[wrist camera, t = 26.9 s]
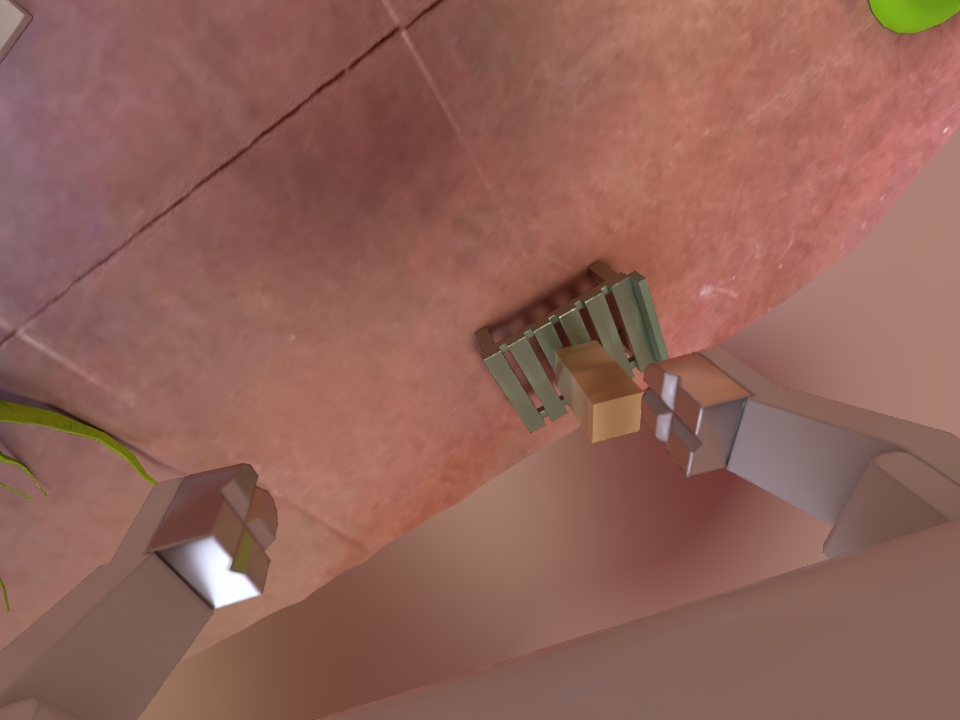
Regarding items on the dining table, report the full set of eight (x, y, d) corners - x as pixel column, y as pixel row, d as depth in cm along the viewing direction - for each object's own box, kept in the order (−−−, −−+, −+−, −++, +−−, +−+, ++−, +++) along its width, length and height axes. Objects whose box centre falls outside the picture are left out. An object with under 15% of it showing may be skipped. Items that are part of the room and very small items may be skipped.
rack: (607, 252, 44) (646, 278, 38) (635, 334, 51) (672, 367, 45) (471, 331, 46) (486, 368, 39) (515, 401, 52) (534, 442, 46)
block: (555, 384, 44) (592, 443, 37) (554, 349, 42) (593, 404, 34) (595, 375, 45) (639, 430, 37) (596, 339, 42) (643, 391, 35)
